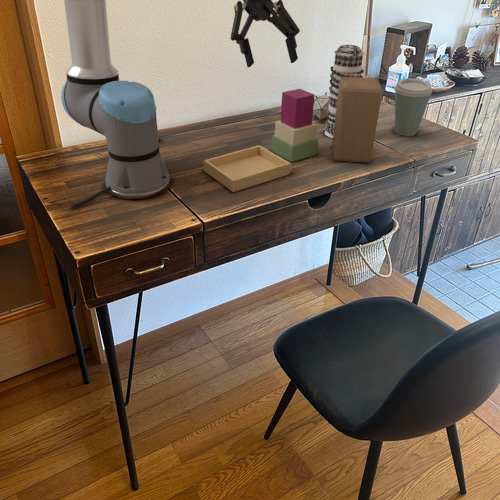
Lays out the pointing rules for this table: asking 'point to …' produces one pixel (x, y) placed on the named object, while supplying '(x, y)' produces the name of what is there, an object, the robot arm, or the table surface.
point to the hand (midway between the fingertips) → (273, 63)
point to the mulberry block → (297, 108)
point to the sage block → (294, 149)
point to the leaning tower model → (344, 66)
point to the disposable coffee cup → (410, 105)
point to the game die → (321, 106)
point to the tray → (246, 168)
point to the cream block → (295, 133)
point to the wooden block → (356, 119)
